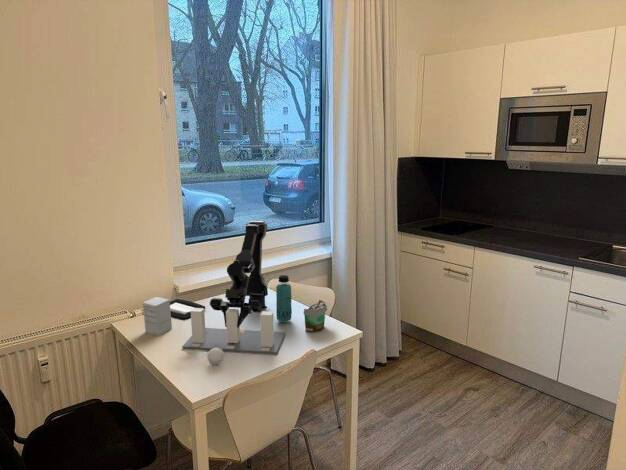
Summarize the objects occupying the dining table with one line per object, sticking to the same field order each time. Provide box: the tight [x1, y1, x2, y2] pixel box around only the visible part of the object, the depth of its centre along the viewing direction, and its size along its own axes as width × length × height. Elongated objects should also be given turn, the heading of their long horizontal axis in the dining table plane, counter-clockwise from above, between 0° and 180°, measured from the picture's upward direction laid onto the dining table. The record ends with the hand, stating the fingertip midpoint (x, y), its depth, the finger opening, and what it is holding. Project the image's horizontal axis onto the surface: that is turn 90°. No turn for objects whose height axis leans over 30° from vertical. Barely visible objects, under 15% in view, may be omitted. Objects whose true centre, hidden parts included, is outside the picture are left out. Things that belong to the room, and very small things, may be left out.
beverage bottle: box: [275, 274, 293, 322], centre depth 176 cm, size 6×7×20 cm
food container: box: [303, 299, 328, 333], centre depth 171 cm, size 12×6×10 cm, turn 148°
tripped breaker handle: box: [226, 308, 241, 343], centre depth 158 cm, size 3×4×12 cm
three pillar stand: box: [182, 308, 286, 356], centre depth 160 cm, size 16×35×13 cm, turn 83°
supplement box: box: [142, 296, 173, 336], centre depth 169 cm, size 7×7×13 cm
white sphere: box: [201, 348, 225, 366], centre depth 145 cm, size 8×6×6 cm
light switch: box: [170, 298, 207, 321], centre depth 190 cm, size 20×3×14 cm
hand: (231, 327), depth 156 cm, fingers closed on tripped breaker handle, 4 cm apart
